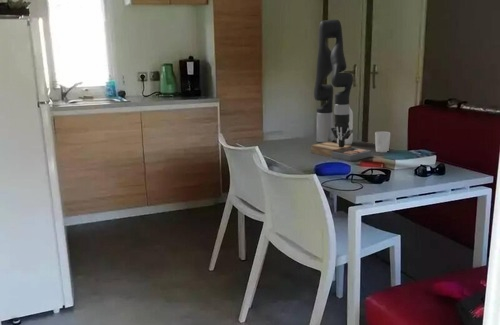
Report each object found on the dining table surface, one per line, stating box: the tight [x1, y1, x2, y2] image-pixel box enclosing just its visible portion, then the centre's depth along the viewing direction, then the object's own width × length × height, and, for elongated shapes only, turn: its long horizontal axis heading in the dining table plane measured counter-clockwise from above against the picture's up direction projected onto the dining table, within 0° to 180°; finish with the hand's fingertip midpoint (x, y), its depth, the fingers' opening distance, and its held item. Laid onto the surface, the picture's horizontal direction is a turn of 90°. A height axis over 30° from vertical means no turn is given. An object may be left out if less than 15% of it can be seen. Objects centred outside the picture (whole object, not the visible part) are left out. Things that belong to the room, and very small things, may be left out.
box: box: [331, 147, 372, 162], centre depth 262 cm, size 16×12×3 cm
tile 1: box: [344, 151, 358, 155], centre depth 259 cm, size 5×5×2 cm
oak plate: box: [310, 141, 353, 158], centre depth 272 cm, size 14×16×4 cm
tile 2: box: [353, 148, 368, 153], centre depth 263 cm, size 5×5×2 cm
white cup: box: [374, 130, 391, 153], centre depth 272 cm, size 8×8×10 cm
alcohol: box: [336, 105, 354, 146], centre depth 293 cm, size 9×9×30 cm
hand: (341, 147), depth 262 cm, fingers closed
